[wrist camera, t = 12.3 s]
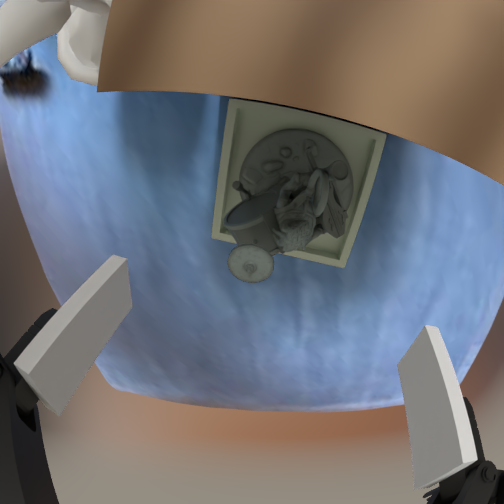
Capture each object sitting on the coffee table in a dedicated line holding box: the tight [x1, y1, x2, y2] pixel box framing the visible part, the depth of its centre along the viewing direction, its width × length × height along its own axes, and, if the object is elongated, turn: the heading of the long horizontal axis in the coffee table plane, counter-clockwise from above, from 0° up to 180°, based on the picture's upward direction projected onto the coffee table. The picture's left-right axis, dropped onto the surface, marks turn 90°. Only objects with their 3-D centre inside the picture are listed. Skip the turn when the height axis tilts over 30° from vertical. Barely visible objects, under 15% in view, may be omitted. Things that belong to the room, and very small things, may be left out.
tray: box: [211, 98, 387, 268], centre depth 26 cm, size 14×14×2 cm
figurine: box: [223, 128, 354, 283], centre depth 21 cm, size 11×11×12 cm
